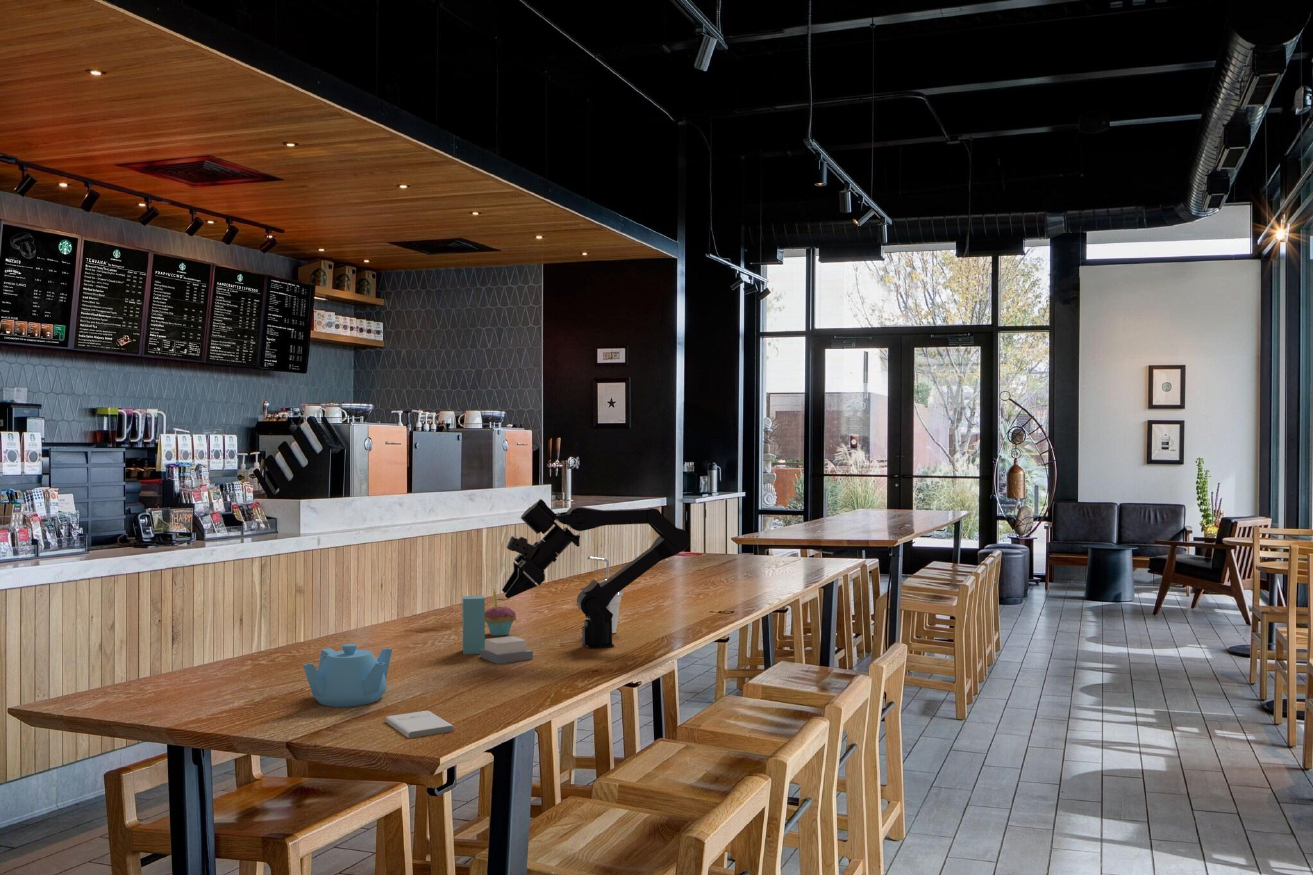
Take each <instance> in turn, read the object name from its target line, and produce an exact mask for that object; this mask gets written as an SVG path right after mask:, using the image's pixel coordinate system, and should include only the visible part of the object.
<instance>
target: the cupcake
mask: <svg viewBox="0 0 1313 875" xmlns="http://www.w3.org/2000/svg"><path fill="white" fill-rule="evenodd" d="M492 590H493V592H492V594H493V600H494V601H493V602H494V607H491V608H489V609H487V610H485V623H486V624H487V627H488V630H489V633H490V635H491V636H501V637H502V636H507V635H509V634H510V631H511V628H512V625H513V622H514V621H516V620H517V614H516V612H515V611H514V610H513V609H511V608H510V607H507V606H498V602H497V601H498V600H497V592H496V591H495V588H493V589H492Z"/></svg>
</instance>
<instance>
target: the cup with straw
mask: <svg viewBox="0 0 1313 875" xmlns="http://www.w3.org/2000/svg"><path fill="white" fill-rule="evenodd" d="M587 559H588V560H593V561H600V562H605V563H606V564H605V565H606V568H605V569H606V570H605V572H606V575H605V576H606V579H603V580H602V579H601V580H600V581H599V582H598V583H601V582H604V581H606V580H607V579H609V578H610V561H609V560H608V559H607V558H601V557H594V556H588V557H587ZM623 596H624V591H623V590H621V591H620V592H618V593H617V594H616V595H615V596H614V598H613V599H612V601H611V602H610V603H609V605H608V606H607V607H606V608H607V609H608V610H609V611H610V612H611V613H612V614H613V617H612V634H617V628H618V622H619V611H620V605H621V602H622V601H621V600H622V597H623Z"/></svg>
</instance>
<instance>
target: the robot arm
mask: <svg viewBox="0 0 1313 875" xmlns="http://www.w3.org/2000/svg"><path fill="white" fill-rule="evenodd" d="M520 519H521V521H523V523H525V524H526V525H527V526H528V527H529V528H530V529H531V530H532V531H534V533H535V534H537V535H538V534H540V533H541V534H542V535H544V536H543V538H542V539H541V540H539V541H535V542H534V543H533V544H532V543H529V542H528V538H525V537H523V536H520V537H519V538H518V537H516V536H514V535H511V537H510V538H509V541H508V543H507V546H506V549H507V550H510V551H512V552H516V553H517V554H518V555H516V557H515V558H514V559H513V560H514V561H513V562H512V565H513V569H512V572H511V575H510V576H509V578H508V579H507V581H506V583H505V584H504V586H503V588H502V589H501V590H502V592H503V593H504V597H505V598H506V599H511V598H513V597H516V596H517V595H520V594H522V593H524V592H527V591H529V590H531V589H534V588H537V587H538V586H541V585H542V584H543V583H544V582H545V580H546V575H545V573H546V569H547V568H548V567H549V566H551V564H552V563H555V562H556V561H557V560H558V559H557V558H558V557H559V556H560V555H561V554H562V553H563V552H564V550H566V549H567V548H568V546H570V545H571V544H573V545H574V546H576V547H578V548H579V547H580V546H581V545H580V538H581V536H580V534H574V533H573V532H572V531H571V530H570V529H572V530H575V531H576V532H583V531H588V530H592V529H596V528H600V527H604V526H621V525H623V526H624V525H647V524H648V525H649V526H650V527H651V528H652V530H653V531H654V532H655V533H656V534H657V535H658V536H657V537H656V539H655V540H654V542H653V543H652V544H651V545H650V547H649V548H648V549H646V550H644V552H642V553H641V554H640V555H638V556H636V557H635V558H634V559H632V561H630V562H629V563H627V564H626V565H625V566H623V567H622V568H621V569H620V570H618V571H617V572H615V573H614V574H613V575H611V576H609V579H607V580H606V581H604V582H601V583H599V582H598V581H597V580H596V579H593V580H591V582H590V583H589V584H587V585H586V586H585V587H581V588H580V590H581V592H579V594H578V595H577V596H576V606H577V608H578V609H579V610H580V611H581V612H582V614H584V616H585V618H586V619H584V620H583V621H584V624H583V626H582V627H581V630H582V631H581V633H582V636H581V637H582V638H581V641H582V645H584V646H585V647H587V648H588V649H595V648H608V647H609V648H610V647H615V643H613V633H612V617H613V614H612V613H611V612H610V611H609V610H608V609H607V608H606V607H607V606H608V605H609V603H610V602H611V601H612V599H613V598H614V596H615V595H616V594H617V593H618V592H620V591H623V590H624V589H625V588H626V587H627V586H629V585H630V584H632V583H633V582H634V581H636V580H638V578H640V577H642V575H644V574H645V573H647V572H648V571H649V570H651V569H652V568H653V567H654V566H656V565H658V563H660V562H662V561H663V560H666V559H670V558H671V557H674V556H676V555H678V554H681V553H682V552H684V551H686V550H687V549H688V548H689V547H690V542H691V539H690V535H689V533H688V532H687V530H684V529H682V528H679V527H677V526H676V525H674V524H673V523H672V521H670V520H669V519H668V518H666V517H665V516H664V515H663V514H662V513H661V511H660V510H659V509H657V508H654V507H647V508H624V509H622V508H621V509H600V508H599V509H598V508H592V507H586V506H579V505H576V506H575V505H574V506H571V507H569V509H568V510H567V511H563V512H556V513H555V512H554V510H552V509H551V508H550V507H549V506H548V504H546V501H544V500H543V499H541V498H540V499H539V500H538V501H536V502H535V503H533V504H532V505H531V506H530V507H528V508H527V509H526V510H525V511H524V512H523V514H522V515H521V516H520ZM556 521H557V522H558V523H560V524H562V525H567V526H568V527H569V528H568V527H566V526H565V527H563V528H562V527H561V526H560V525H559V524H558V523H556ZM553 525H554V526H553ZM545 534H546V535H545Z"/></svg>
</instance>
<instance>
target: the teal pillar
mask: <svg viewBox="0 0 1313 875" xmlns="http://www.w3.org/2000/svg"><path fill="white" fill-rule="evenodd" d="M461 597H462V610H461V611H462V654H463V655H474V654H475V655H477V654H478V655H479V654H480V650H482V649H485V639H486V631H485V630H486V624H485V623H486V622H485V612H486V609H485V607H486V605H485V604H486V602H485V601H486V600H485V599H486V598H485V596H484V595H481V594H480V595H462V596H461Z"/></svg>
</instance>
